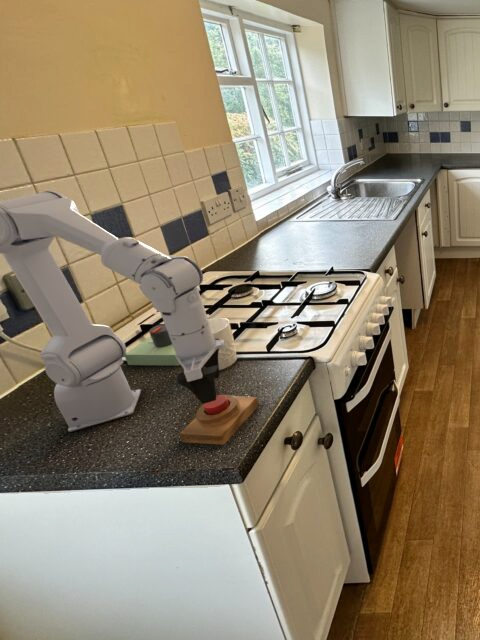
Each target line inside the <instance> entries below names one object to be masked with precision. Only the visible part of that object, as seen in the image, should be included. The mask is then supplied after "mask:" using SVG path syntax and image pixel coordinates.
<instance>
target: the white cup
mask: <svg viewBox="0 0 480 640" xmlns="http://www.w3.org/2000/svg"><path fill="white" fill-rule="evenodd" d="M208 321H209V324H210V327H211V330H212V333H213V336H214V339H220V340H221V339H222V340H224V346H223V347H222V348H219V351H218V363H219V371H221V370H225V369H226V368H229V367H231V366H233V364H235V363H236V362H237V360H238V355H237V351H236V343H235V338H234V334H233V330H232V327H231V322H230V320H229V319H228V318H226V317H212V318H208Z"/></svg>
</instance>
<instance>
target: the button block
mask: <svg viewBox="0 0 480 640" xmlns="http://www.w3.org/2000/svg"><path fill="white" fill-rule="evenodd" d="M224 395H225V396H226V397H227V400H228V403H229V407H228V408H227V409H226V410H224V411H222V412H220V413H218V414H215V415H208V414H207V413H206V410H205V408H204V404H205V403H204V404H201V406H200V407H199V408H197V410H196V414H195V418H194V419H193V420H192V421H190V423H188V424H187V426H185V427H184V428H183V429H182V430H181V431H180V432H179V436H180V439H181V441H182V442H183V443H185V444H186V443H187V444H205V445H220V446H221V445H223V446H224V445H225V444H226V443H227V442H228V441H229V440H230V439H231V438H232V436H233V435H234V434H236V432H237V431H238V430H239V429H240V427H242V425H243V424H244V423H245V422H246V421H247V419H249V418H250V416H252V414H253V413H254V412H255V411H256V409H257V408H258V407H259V406H260V405H259V401H258V398H257V396H241V395H230V394H224Z"/></svg>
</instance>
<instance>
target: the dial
mask: <svg viewBox="0 0 480 640" xmlns="http://www.w3.org/2000/svg"><path fill="white" fill-rule="evenodd" d="M148 332H149V335H150V336H151V338H152V340H153V343H154V345H155V347H165V346H168V345H171V344H172V342H171V339H170V337H169V334H168V331H167V329H166V326H165V323H161V324H157V325H155V326H153V327H152V328H150V329H149V330H148Z"/></svg>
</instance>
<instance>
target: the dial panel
mask: <svg viewBox="0 0 480 640" xmlns="http://www.w3.org/2000/svg"><path fill="white" fill-rule="evenodd" d="M175 353H176V352H175V350H174V347H173V344H171V345H168V346H165V347H155V345H154V343H153V340H152V338H151V335H150V336H149V337H147V338H145V339H144V340H143V341H141V342H140V343H138V344H137V345H136V346H134V347H133V348H131V349H130V350H128V351H126V354H125V356H124V359H125V361H126V363H127V365H128V366H181V365H180V363H179V362H178V360H177V359H176V356H175Z"/></svg>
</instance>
